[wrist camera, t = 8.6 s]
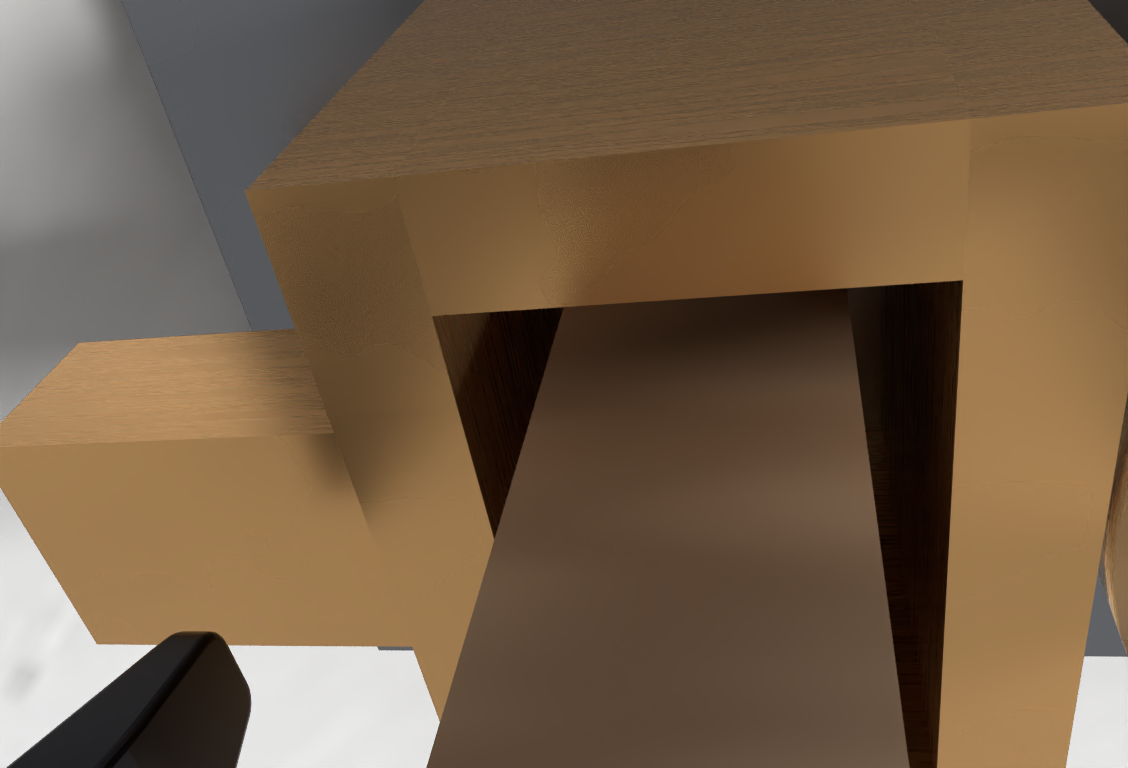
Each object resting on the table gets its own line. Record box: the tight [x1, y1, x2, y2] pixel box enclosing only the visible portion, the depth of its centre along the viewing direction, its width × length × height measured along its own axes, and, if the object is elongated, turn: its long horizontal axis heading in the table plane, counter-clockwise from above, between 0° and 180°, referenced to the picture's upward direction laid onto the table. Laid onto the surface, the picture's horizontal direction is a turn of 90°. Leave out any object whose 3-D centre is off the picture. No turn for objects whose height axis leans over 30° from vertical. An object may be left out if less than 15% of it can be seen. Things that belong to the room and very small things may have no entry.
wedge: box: [427, 288, 909, 768], centre depth 10 cm, size 2×4×10 cm, turn 10°
